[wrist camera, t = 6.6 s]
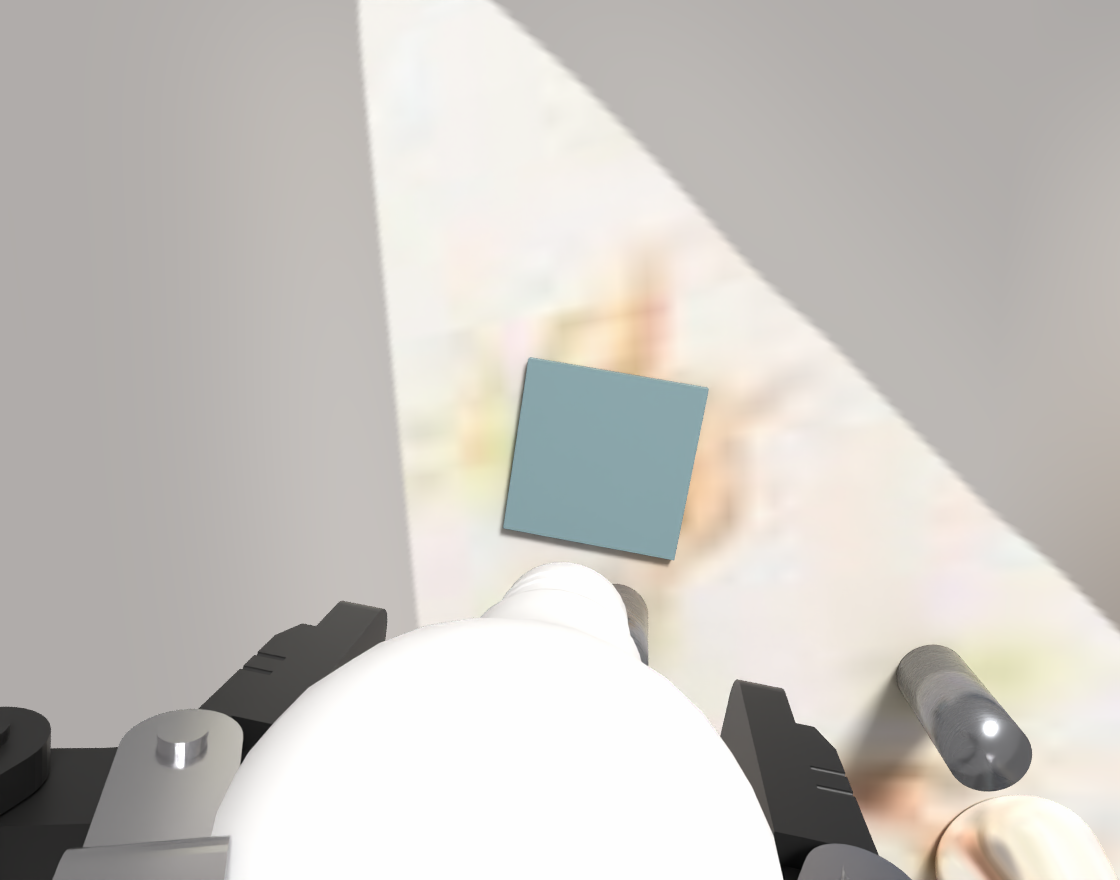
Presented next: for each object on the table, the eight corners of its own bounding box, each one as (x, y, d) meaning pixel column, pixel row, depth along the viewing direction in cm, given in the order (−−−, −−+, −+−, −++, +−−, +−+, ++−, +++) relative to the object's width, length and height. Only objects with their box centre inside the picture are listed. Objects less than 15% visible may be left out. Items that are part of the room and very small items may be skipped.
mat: (673, 556, 29) (673, 560, 29) (505, 524, 30) (503, 528, 29) (707, 387, 28) (708, 389, 27) (530, 357, 28) (528, 358, 28)
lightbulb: (378, 655, 17) (-113, 1332, 6) (500, 407, 15) (148, 704, 5) (630, 787, 17) (596, 1710, 6) (776, 550, 15) (1078, 1193, 4)
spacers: (878, 971, 32) (920, 1096, 27) (532, 894, 33) (513, 1001, 28) (974, 651, 29) (1042, 728, 24) (588, 578, 30) (577, 636, 25)
